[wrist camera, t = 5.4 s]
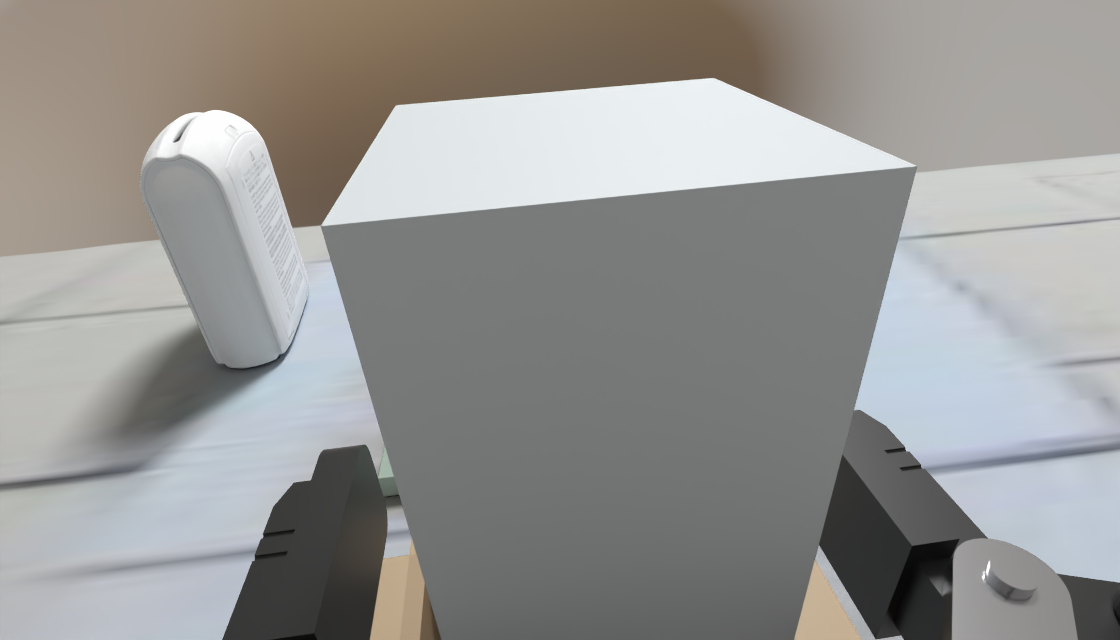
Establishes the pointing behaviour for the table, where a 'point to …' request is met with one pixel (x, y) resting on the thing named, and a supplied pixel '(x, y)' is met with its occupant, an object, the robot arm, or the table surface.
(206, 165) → the photo printer
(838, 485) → the robot arm
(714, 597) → the box
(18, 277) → the table surface
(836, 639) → the open carton
